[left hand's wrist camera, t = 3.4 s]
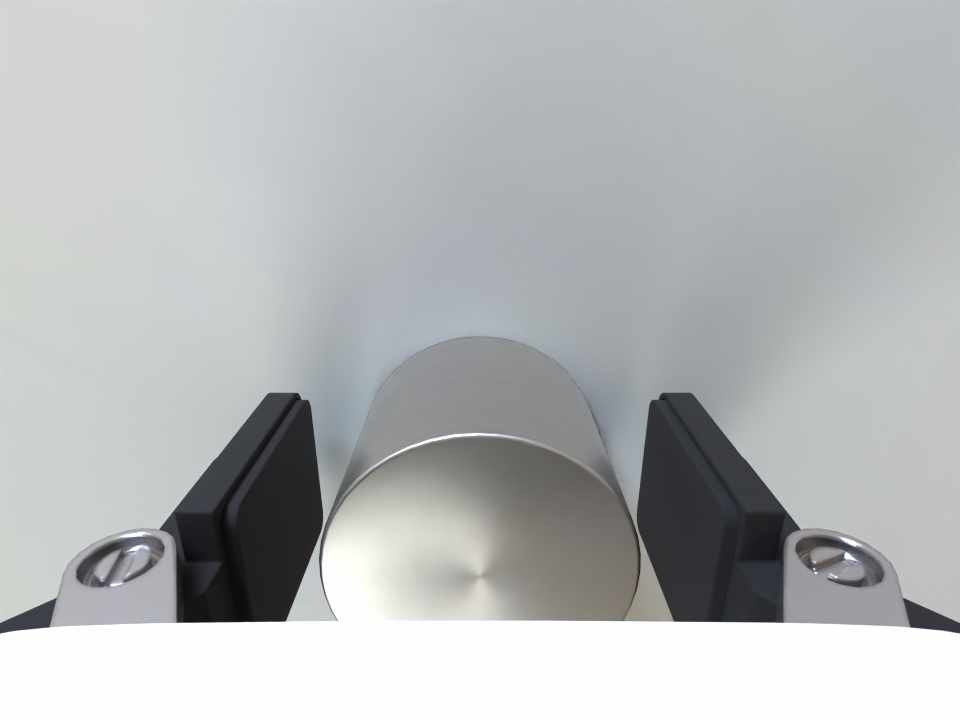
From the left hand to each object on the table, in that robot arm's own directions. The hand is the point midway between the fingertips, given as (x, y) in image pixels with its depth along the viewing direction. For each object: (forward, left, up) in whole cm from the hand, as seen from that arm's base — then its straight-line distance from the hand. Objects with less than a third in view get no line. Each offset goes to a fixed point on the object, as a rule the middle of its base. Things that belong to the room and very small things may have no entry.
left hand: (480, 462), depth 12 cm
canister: (0, 0, -1) cm, 1 cm away
